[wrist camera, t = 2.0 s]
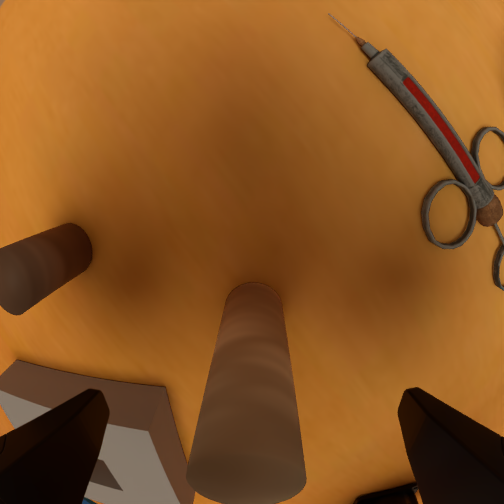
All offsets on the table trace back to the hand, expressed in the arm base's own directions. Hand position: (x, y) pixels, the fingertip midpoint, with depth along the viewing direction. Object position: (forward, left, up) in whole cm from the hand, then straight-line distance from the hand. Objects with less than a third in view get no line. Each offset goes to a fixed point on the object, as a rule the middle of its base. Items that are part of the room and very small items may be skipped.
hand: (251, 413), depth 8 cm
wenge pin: (+9, -3, -6) cm, 12 cm away
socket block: (+11, +11, -6) cm, 17 cm away
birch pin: (0, 0, -6) cm, 7 cm away
